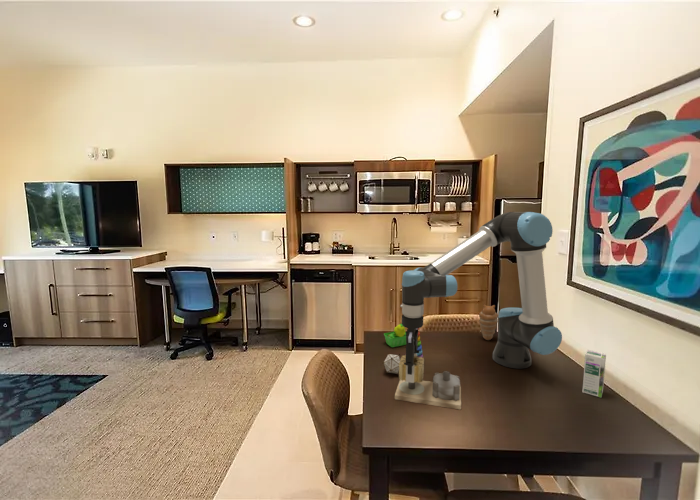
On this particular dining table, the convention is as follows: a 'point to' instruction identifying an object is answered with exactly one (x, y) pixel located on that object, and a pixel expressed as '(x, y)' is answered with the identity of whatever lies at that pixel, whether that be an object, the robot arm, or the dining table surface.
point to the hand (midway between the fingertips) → (411, 375)
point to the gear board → (427, 397)
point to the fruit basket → (396, 336)
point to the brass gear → (417, 368)
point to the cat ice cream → (488, 321)
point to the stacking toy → (419, 346)
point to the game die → (392, 363)
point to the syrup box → (594, 373)
